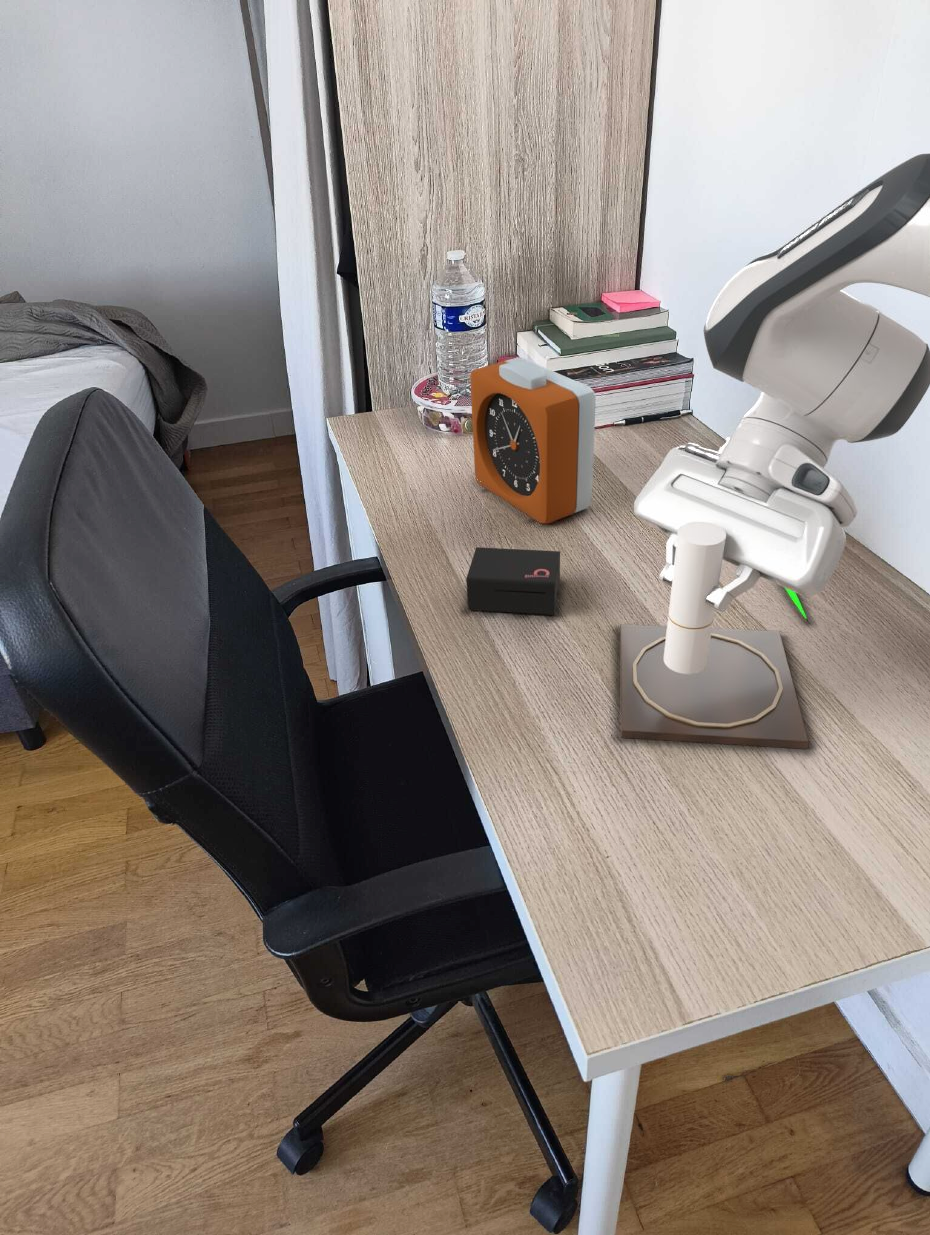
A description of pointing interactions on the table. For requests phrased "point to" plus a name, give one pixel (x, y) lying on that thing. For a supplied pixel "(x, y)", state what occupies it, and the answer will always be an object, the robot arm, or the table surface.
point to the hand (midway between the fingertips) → (690, 595)
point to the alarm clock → (533, 438)
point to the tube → (693, 596)
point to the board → (710, 691)
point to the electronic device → (513, 580)
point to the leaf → (796, 601)
